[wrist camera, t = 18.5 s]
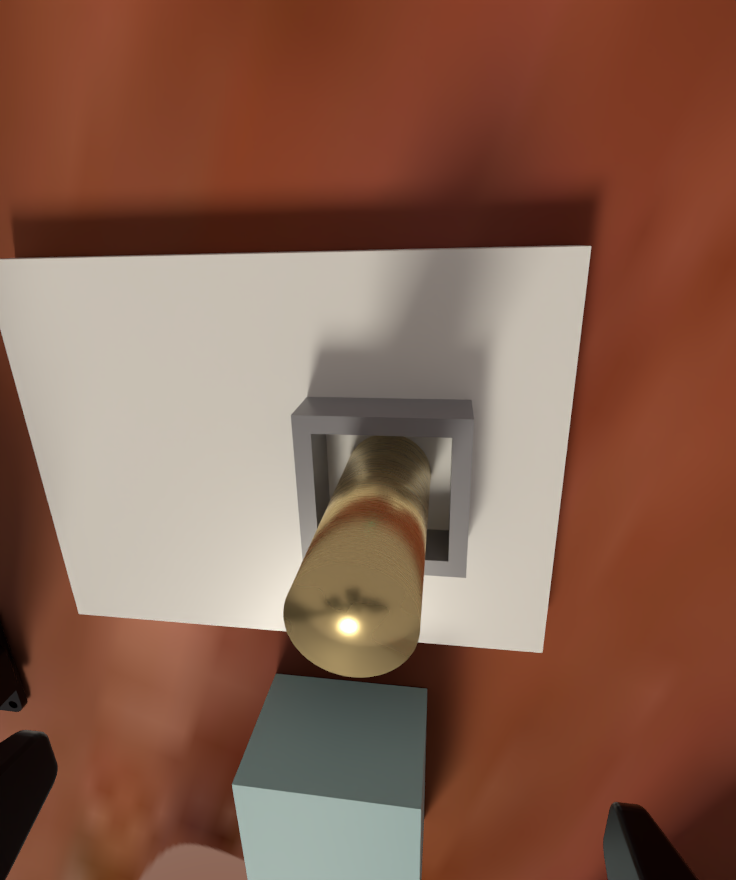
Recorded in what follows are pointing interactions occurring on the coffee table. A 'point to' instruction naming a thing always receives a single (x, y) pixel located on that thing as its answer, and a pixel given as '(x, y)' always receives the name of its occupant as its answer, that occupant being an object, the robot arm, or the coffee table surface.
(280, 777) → the block
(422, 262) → the board
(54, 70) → the coffee table surface
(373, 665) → the pin
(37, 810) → the robot arm
